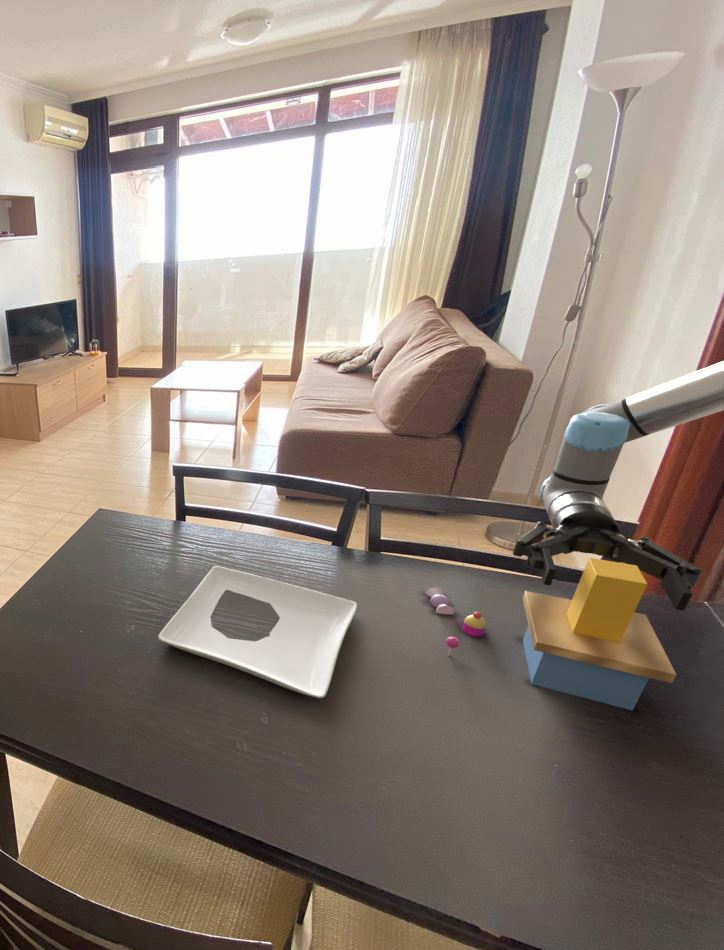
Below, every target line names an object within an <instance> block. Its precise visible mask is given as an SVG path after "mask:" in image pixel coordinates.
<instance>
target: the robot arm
mask: <svg viewBox="0 0 724 950" xmlns="http://www.w3.org/2000/svg"><path fill="white" fill-rule="evenodd" d="M722 411H723V412H724V360H723V361H720V362H717V363H715V364H712V365H709V366H707V367H705V368H701V369H699V370H696V371H694V372H691V373H688V374H685V375H684V376H680V377H678V378H676V379H673V380H670V381H668V382H664V383H661V384H659V385H656V386H654V387H652V388H649V389H646V390H644V391H641V392H638V393H635V394H633V395H630V396H627V397H626V398H623V399H620V400H616V401H614V402H611V403H602V404H598V405H595V406H592V407H589V408H588V409H586V410H585V411H583V412H581V413H577V414H574V415H573V416H572V417H571V418H570V421H569V423H568V425H567V427H566V429H565V430H564V434H563V439H562V442H561V445H560V448H559V451H558V455H557V458H556V461H555V464H554V467H553V469H552V471H551V474H550V476H549V477H547V478H546V479H545V480H543V482H542V485H541V487H540V499H541V503H542V505H543V506H544V508H545V511H546V513H547V516H548V518H549V520H550V523H551V526H552V528H551V527H550V526H547V524H546V523H545V522H543V521H537V522H536V524H535V526H534V528H532V529H531V530H529V531H528V532H527V533H525V534H524V535H521V537H519V538H518V539H517V540H516V542H515V545H514V548H513V551H512V555H513V556H515V557H519V558H521V557H523V556H524V557H527V558H526V561H525V563H526V564H527V565H529V566H531V567H532V568H533V569H538V570H539V574H540V577H541V580H542V583H543V585H545V586H551V585H552V582H553V580H554V578H555V574H556V573H557V568H556V565H555V563H554V559H553V557H554V556H557V555H560V554H564V555H568V554H571V553H574V552H576V553H582V554H583V553H584V554H592V555H597V556H601V557H604V558H607V559H608V560H610V561H612V562H618V563H624V564H630V565H636V566H638V568H639V570H640V572H643V573H645V574H647V575H649V576H652V577H654V578H656V579H658V580H660V581H661V583H660V585H661V587H662V589H663V590H664V592H665V595H667V597H668V599H669V600H670V602H671V604H672V605H673V607H674V608H675V610H678V611H685V610H686V608H687V606H688V604H689V602H690V600H691V598H692V596H693V592H692V591H691V589H692V587H695V586H696V585H697V583H698V581H699V579H700V577H701V575H702V573H703V569H701V568H699V567H697V566H696V565H694V564H692V563H690V562H689V561H687V560H685V559H683V558H682V557H679V556H678V555H676V554H674V553H672V552H670V551H669V550H667V549H665V548H663V547H662V546H660V545H658V544H657V543H656V542H655V541H654V540H653V539H652V538H650V537H645V536H640V538H639V540H632V539H628V538H627V537H626V536H625V535H622V534H621V532H620V527H619V525H618V523H617V521H616V519H615V517H614V516H613V515H612V512H611V511H610V509H609V508H608V505H607V504H606V503H605V501H604V499H603V498H604V494H605V492H606V489H607V486H608V485H609V482H610V479H611V476H612V474H613V471H614V469H615V467H616V463H617V461H618V459H619V457H620V454H621V452H622V450H623V447H624V444H626V443H629V442H632V441H636V440H638V439H641V438H643V437H647V436H649V435H652V434H656V433H658V432H661V431H664V430H667V429H670V428H674V427H677V426H680V425H683V424H687V423H688V422H692V421H695V420H698V419H702V418H704V417H708V416H711V415H713V414H716V413H720V412H722ZM551 537H552V538H551Z"/></svg>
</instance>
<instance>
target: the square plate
mask: <svg viewBox="0 0 724 950" xmlns="http://www.w3.org/2000/svg"><path fill="white" fill-rule="evenodd" d="M225 591H230V592H233V593H236V594H239V595H242V596H246V597H249V598H251V599H254V600H258V601H261V602H263V603H267V604H270V606H271V608H273V610H274V611H275V613H276V614H277V616H278V617H279V619H278V621H277V623H276V624H275V625H274V627H273V628H272V630H271V631H270V632H269V635H268V636H265V637H262V638H261V639H258V640H256V641H255V640H247V639H236V638H229V637H228V636H226V635H224V634H223V633H222V632H220V631H219V630H217V629H216V628H214V627H213V625H212V618H211V616H212V614H213V612H214V610H215V608H216V607H217V604H218V603H219V601H220V599H221V597H222V595H224V593H225ZM357 609H358V603H357V602H356V601H354V600H350V599H347V598H343V597H339V596H336V595H333V594H328V593H325V592H321V591H318V590H316V589H315V590H314V589H310V588H307V587H304V586H299V585H295V584H292V583H288V582H283V581H280V580H276V579H272V578H269V577H265V576H260V575H257V574H254V573H249V572H245V571H241V570H236V569H233V568H228V567H223V566H220V565H214V566H213V567H211V568H210V570H209V571H208V572H207V574H206V575H205V576H204V578H203V579H202V580H201V581H200V583H199V584H198V586H197V587H196V588H195V589H194V591H193V592H192V593H191V594H190V596H189V597H187V599H186V600H185V602H184V603H183V604H182V605H181V607H180V608H179V609H178V610H177V612H175V613H174V615H173V616H172V617H171V619H170V620H168V622H167V623H166V624H165V626H164V627H163V628H162V630H161V631H160V632H159V634H158V636H157V638H158V640H159V641H160V642H162V643H166V644H168V645H170V646H171V647H173V648H176V649H178V650H181V651H183V652H184V651H185V652H187V653H190V654H193V655H196V656H199V657H203V658H206V659H207V660H212V661H215V662H217V663H221V664H223V665H226V666H229V667H231V668H234V669H237V670H239V671H242V672H245V673H248V674H250V675H253V676H256V677H257V678H260V679H263V680H265V681H268V682H270V683H272V684H275V685H277V686H280V687H282V688H285V689H287V690H290V691H293V692H297V693H299V694H301V695H305V696H309V697H312V698H318V699H323V698H325V697H326V695H327V694H328V691H329V688H330V685H331V681H332V678H333V674H334V670H335V667H336V664H337V660H338V657H339V653H340V650H341V647H342V644H343V641H344V639H345V637H346V633H347V632H348V629H349V627H350V625H351V623H352V621H353V618H354V616H355V614H356V611H357Z"/></svg>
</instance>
